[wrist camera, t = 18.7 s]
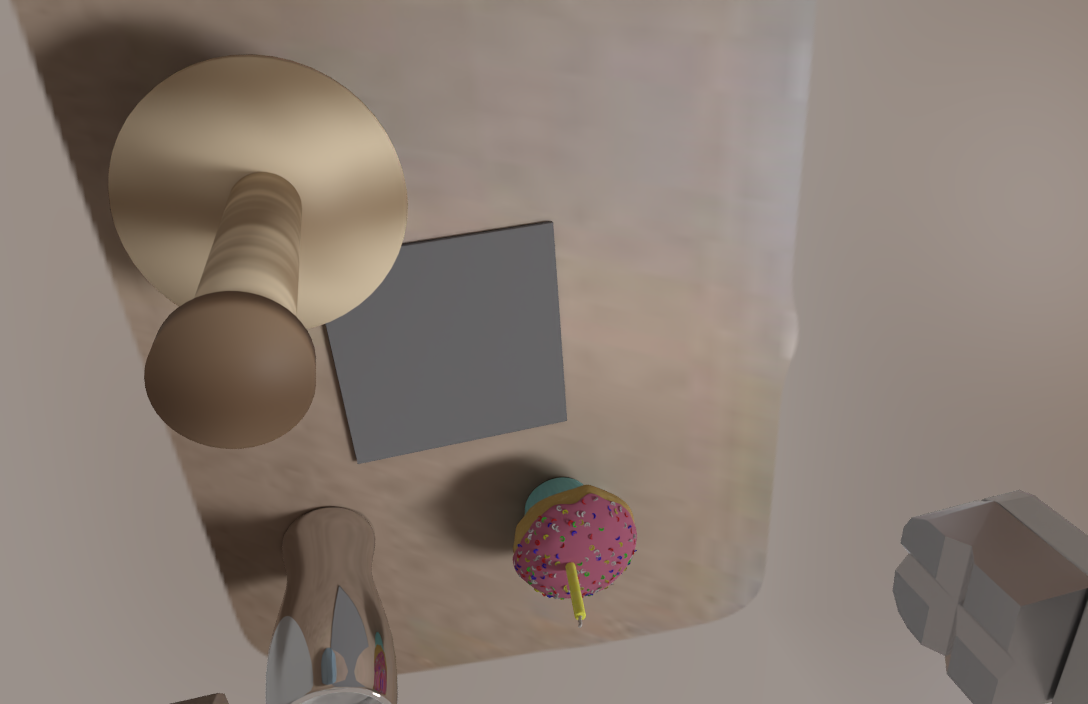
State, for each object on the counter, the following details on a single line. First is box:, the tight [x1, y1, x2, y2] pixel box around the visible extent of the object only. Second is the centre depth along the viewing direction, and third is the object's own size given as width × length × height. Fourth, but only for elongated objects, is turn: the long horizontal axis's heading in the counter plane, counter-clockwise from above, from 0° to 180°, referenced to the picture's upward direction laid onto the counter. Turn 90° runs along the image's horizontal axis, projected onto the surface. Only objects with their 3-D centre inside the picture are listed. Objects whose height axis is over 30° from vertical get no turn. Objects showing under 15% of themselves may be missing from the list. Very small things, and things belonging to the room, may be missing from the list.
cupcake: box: [513, 477, 637, 628], centre depth 51 cm, size 9×8×12 cm
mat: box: [326, 221, 567, 464], centre depth 48 cm, size 14×14×1 cm
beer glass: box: [266, 507, 398, 704], centre depth 46 cm, size 7×7×15 cm
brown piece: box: [108, 54, 408, 449], centre depth 29 cm, size 13×13×18 cm
